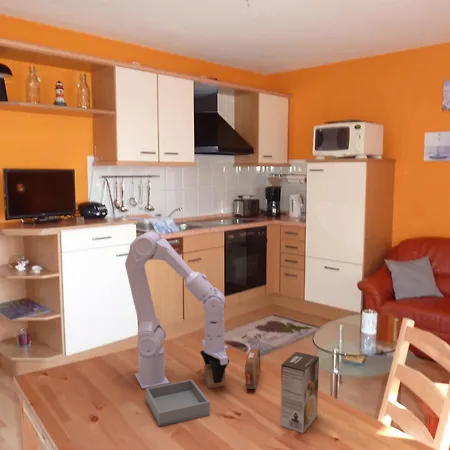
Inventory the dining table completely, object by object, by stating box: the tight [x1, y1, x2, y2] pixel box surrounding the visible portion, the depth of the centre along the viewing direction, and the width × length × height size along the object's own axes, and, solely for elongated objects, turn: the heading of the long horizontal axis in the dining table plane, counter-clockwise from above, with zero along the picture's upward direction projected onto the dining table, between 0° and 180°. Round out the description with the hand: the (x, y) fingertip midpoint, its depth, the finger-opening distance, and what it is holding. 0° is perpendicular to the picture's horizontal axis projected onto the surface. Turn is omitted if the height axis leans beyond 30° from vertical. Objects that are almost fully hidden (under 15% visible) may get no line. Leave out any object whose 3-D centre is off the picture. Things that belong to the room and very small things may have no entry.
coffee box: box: [280, 351, 320, 434], centre depth 111 cm, size 9×6×16 cm
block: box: [203, 364, 226, 390], centre depth 130 cm, size 4×5×6 cm
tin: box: [244, 348, 261, 390], centre depth 131 cm, size 15×3×8 cm, turn 168°
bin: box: [145, 379, 211, 428], centre depth 117 cm, size 13×13×4 cm
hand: (214, 378), depth 130 cm, fingers open, 4 cm apart
